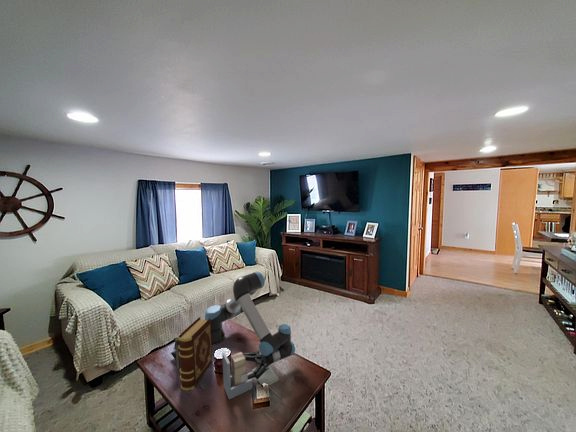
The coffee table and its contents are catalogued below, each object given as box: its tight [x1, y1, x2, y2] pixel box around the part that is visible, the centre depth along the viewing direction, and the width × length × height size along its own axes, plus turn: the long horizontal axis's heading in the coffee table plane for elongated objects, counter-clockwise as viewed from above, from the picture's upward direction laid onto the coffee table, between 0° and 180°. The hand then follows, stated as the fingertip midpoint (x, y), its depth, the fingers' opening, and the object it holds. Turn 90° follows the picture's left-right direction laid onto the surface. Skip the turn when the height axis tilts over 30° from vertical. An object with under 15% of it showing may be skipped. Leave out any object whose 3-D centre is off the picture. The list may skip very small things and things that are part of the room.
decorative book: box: [177, 316, 213, 392], centre depth 137 cm, size 22×8×30 cm, turn 168°
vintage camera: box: [170, 336, 181, 370], centre depth 150 cm, size 10×16×20 cm, turn 45°
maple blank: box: [230, 351, 247, 388], centre depth 129 cm, size 6×6×18 cm
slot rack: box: [221, 352, 253, 400], centre depth 128 cm, size 9×13×20 cm
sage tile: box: [251, 366, 280, 386], centre depth 138 cm, size 15×10×1 cm, turn 32°
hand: (236, 371), depth 128 cm, fingers open, 13 cm apart
